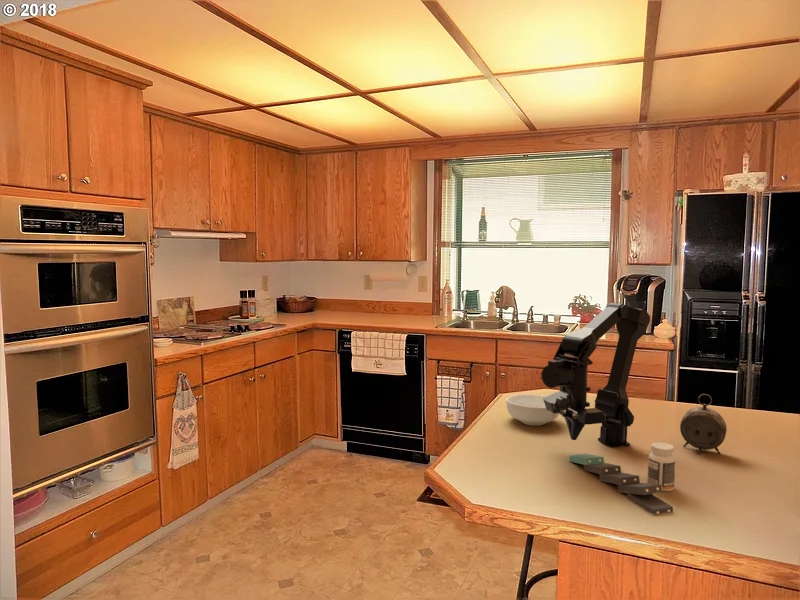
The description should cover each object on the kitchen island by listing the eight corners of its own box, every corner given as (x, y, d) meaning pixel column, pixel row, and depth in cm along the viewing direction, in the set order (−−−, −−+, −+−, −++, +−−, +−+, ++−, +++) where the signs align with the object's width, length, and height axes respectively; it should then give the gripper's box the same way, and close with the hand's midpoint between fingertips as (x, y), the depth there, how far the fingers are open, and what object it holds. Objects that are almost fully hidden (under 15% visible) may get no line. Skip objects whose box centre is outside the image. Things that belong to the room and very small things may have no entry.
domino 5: (646, 490, 125) (674, 507, 117) (645, 497, 125) (673, 514, 117) (627, 493, 123) (654, 510, 115) (627, 500, 123) (654, 517, 116)
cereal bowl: (566, 419, 179) (567, 398, 179) (551, 434, 165) (551, 410, 165) (516, 411, 188) (517, 390, 188) (497, 424, 174) (498, 402, 174)
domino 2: (601, 462, 140) (621, 466, 132) (601, 468, 140) (621, 472, 132) (583, 463, 139) (602, 467, 131) (584, 470, 139) (603, 474, 131)
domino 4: (635, 482, 128) (661, 484, 120) (637, 489, 128) (663, 492, 120) (617, 484, 127) (642, 487, 119) (618, 492, 126) (644, 495, 119)
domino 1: (586, 453, 146) (604, 456, 138) (587, 459, 145) (604, 463, 137) (569, 455, 145) (585, 458, 137) (569, 461, 144) (586, 465, 136)
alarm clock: (725, 453, 151) (729, 394, 149) (723, 459, 147) (727, 399, 145) (680, 444, 157) (683, 388, 156) (677, 450, 153) (681, 392, 151)
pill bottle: (672, 483, 131) (674, 443, 130) (675, 493, 126) (678, 451, 125) (646, 480, 133) (648, 440, 132) (648, 490, 128) (650, 448, 127)
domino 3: (617, 471, 134) (639, 475, 126) (618, 478, 134) (640, 483, 126) (599, 473, 133) (620, 477, 125) (600, 480, 133) (621, 485, 125)
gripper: (530, 376, 153) (528, 431, 154) (569, 393, 135) (567, 455, 137) (565, 373, 156) (563, 427, 158) (608, 390, 138) (605, 450, 140)
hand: (573, 439), depth 148 cm, fingers closed
